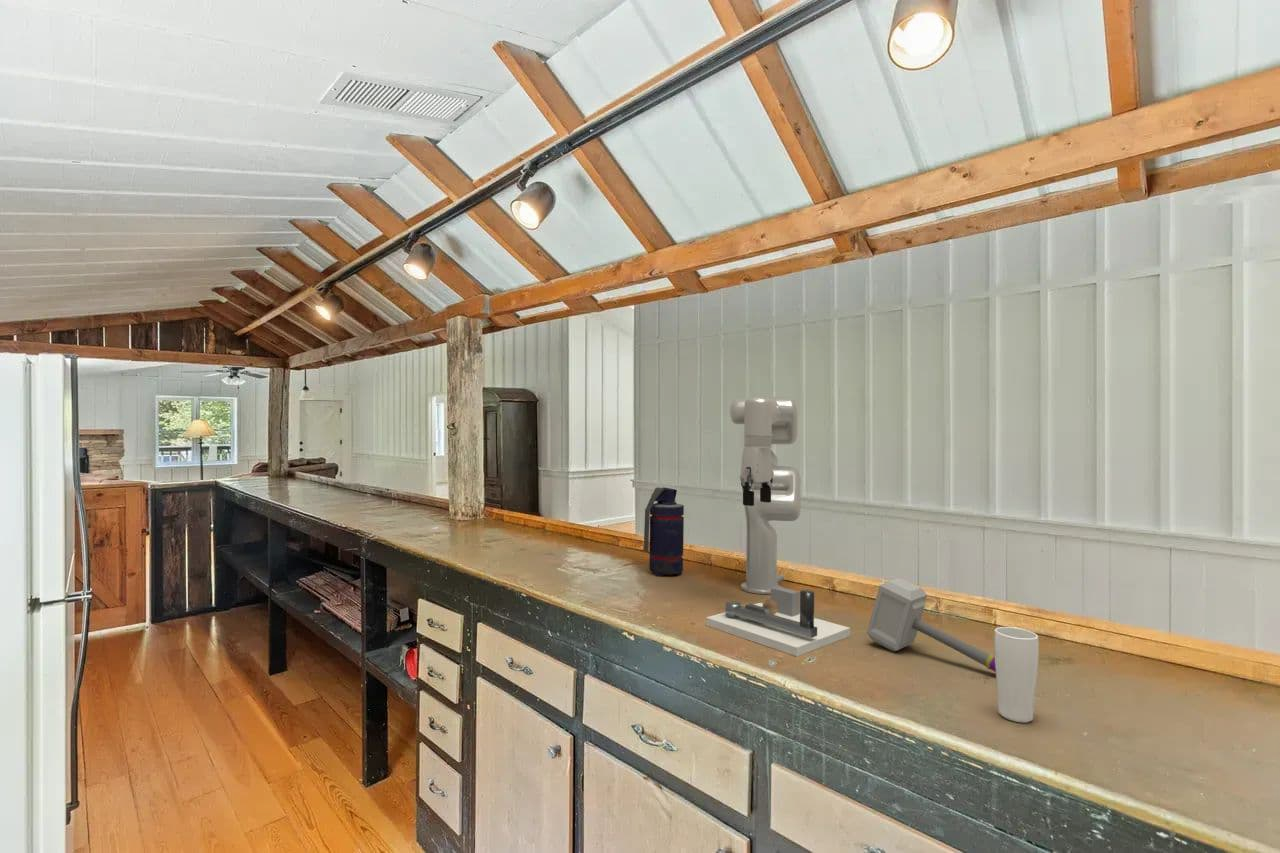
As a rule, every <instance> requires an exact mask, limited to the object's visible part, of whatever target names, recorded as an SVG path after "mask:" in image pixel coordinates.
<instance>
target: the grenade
mask: <svg viewBox="0 0 1280 853" xmlns="http://www.w3.org/2000/svg"><path fill="white" fill-rule="evenodd" d="M677 492H678V490H677V489H675V488H668V487H659V486H658V487H655V488H654V490H653V492H652V493H651V494H650V495H651V496H650V498H649V500H648V503H647V505H646V508H645V509H644V528H643V550H644V551H645V552H646V553H649V567H648V568H649V571H650V572H651V573H655V574H656V576H657V577H662V578H663V577H664V576H665V575H677V576H681V575H682V572H683V571H684V557H683V556H684V537H685V536H684V533H685V530H684V525H685V524H684V523H685V521H684V520H685V519H684V514H685V512H684V510H685V509H684V507H685V506H684V505H683V504H680V503H677V502H676V496H677Z"/></svg>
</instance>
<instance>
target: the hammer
mask: <svg viewBox="0 0 1280 853" xmlns="http://www.w3.org/2000/svg"><path fill="white" fill-rule="evenodd" d="M927 596H928V594H927V593H926V592H925V591H924V589H923V588H922V587H920V586H918V585H916V584H914V583H912V582H910V581H908V580H906V579H903V578H901V577H898V578H894V579H892V580H891V579H890V580H888V581H886V582H884V583H881V584H879V586H878V589H877V593H876V596H875V601H874V605H873V609H872V613H871V615H870V620H869V624H868V627H867V631H866V634H867V635H868V636H869V638H870V639H871V640H872V641H874V642H875V643H877V644H878V645H881V646H882V647H884V648H886V649H887V650H888V651H889V650H890V651H891V652H894V653H895V652H896V651H899V650H901V649H903V648H905V647H908V646H910V645H912V644H914V643H915V639H916V637H917V634H918V632H920V633H922V634H924V635H926V636H928V637H930V638H932V639H934V640H936V641H938V642H940V643H941V644H943V645H945V646H947V647H950V648H951V649H953V650H955V651H957V652H958V653H960V654H961V655H965V656H966V657H968V658H970V659H971V660H973V661H974V662H977V663H979V664H981V665H982V666H984V667H985V668H986V669H988V670H990V671H993V672H995V673H996V668H995V656H994V654H990V653H988V652H986V651H983V650H982V649H979V648H977V647H975V646H973V645H971V644H969V643H967V642H965V641H963V640H960V639H958V637H955V636H953V635H950V634H948V633H946V632H945V631H943V630H940V629H938V628H937V627H934V626H932V625H931V624H928V623H927V622H925V621H923V620H922V616H923V614H924V610H925V606H926V600H927Z"/></svg>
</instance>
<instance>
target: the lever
mask: <svg viewBox="0 0 1280 853" xmlns="http://www.w3.org/2000/svg"><path fill="white" fill-rule="evenodd" d="M799 614H800V622H797V621H794V620H790V619H787V618H783V617H779V616H776V615H772V614H769V609H768V608H764V607H761V606H757V605H754V604H752V603H748V604H745V606H743V605H742V603H741V602H739V601H735V600H730V601H729V600H728V601H726V602H725V615H726V616H729V617H742V618H746V619H749V620H753V621H756V622H759V623H763V624H766V625H769V626H773V627H776V628H780V629H783V630H786V631H790V632H793V633H796V634H800V635H803V636H806V637H810V638H813V637H815V636H817V627H815V626H814V618H815V591H813V590H811V589H801V590H800V591H799Z"/></svg>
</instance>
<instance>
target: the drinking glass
mask: <svg viewBox="0 0 1280 853" xmlns="http://www.w3.org/2000/svg"><path fill="white" fill-rule="evenodd" d="M993 638H994V639H993V640H994V641H993V643H994V644H993V653H994V654H993V655H994V656H995V668H996V672H995V678H996V690H997V709H998V714H1000V716H1001V717H1003V718H1004V719H1006V720H1009V721H1011V722H1015V723H1030V722H1031V721H1032V720H1033V719H1034V705H1035V696H1036V694H1035V693H1036V686H1037V677H1038V669H1039V652H1040V651H1039V650H1040V649H1039V648H1040V647H1039V646H1040V645H1039V644H1040V643H1039V636H1038V634H1037V633H1035V632H1033V631H1030V630H1028V629H1024V628H1020V627H1013V626H1000V627H999V626H998V627H996V628H995V629H994V637H993Z"/></svg>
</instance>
